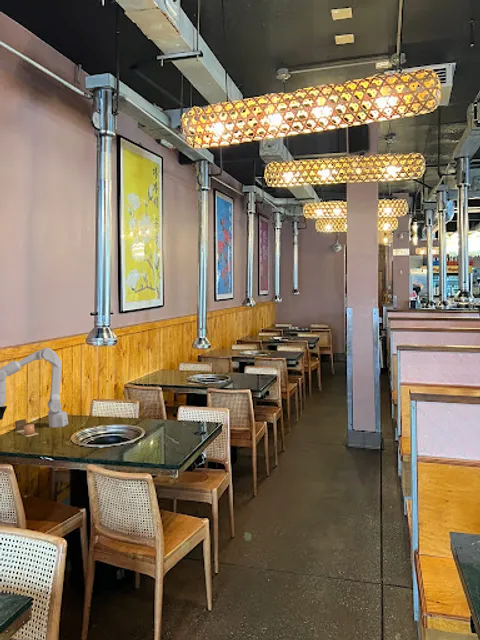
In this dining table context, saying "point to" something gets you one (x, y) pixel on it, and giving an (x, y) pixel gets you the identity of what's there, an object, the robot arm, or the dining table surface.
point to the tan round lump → (29, 429)
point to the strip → (22, 427)
